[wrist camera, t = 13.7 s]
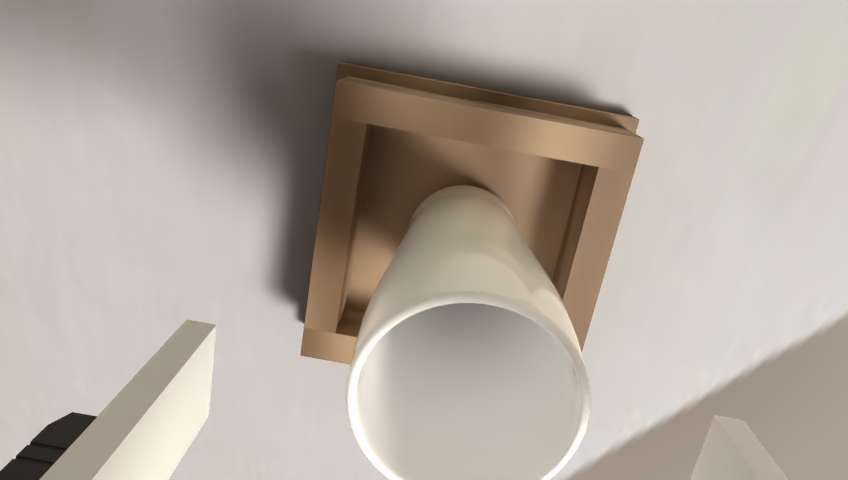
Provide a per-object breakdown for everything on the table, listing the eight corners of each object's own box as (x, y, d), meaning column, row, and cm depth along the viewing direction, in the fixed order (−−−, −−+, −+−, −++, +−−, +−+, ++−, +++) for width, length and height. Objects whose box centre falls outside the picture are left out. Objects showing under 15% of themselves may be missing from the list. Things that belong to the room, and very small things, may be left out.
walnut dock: (307, 325, 34) (289, 362, 30) (342, 62, 30) (325, 66, 26) (561, 372, 34) (574, 414, 30) (633, 116, 30) (659, 129, 26)
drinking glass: (365, 240, 31) (291, 415, 17) (455, 137, 30) (455, 237, 15) (467, 322, 33) (477, 550, 18) (560, 228, 31) (650, 399, 16)
